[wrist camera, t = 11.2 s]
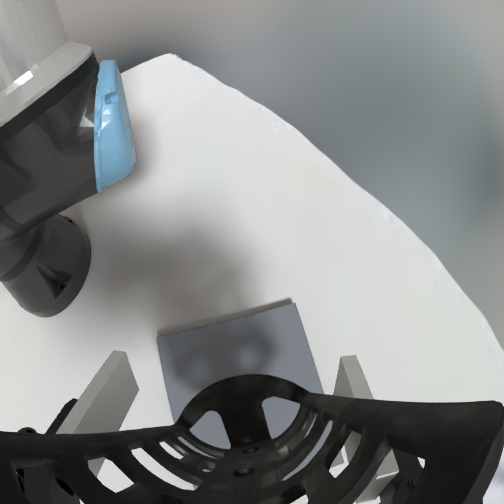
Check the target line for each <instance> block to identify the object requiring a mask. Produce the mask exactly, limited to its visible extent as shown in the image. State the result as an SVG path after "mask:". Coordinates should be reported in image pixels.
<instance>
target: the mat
mask: <svg viewBox="0 0 504 504" xmlns="http://www.w3.org/2000/svg"><path fill="white" fill-rule="evenodd" d="M156 338H157V344H158V350H159V355H160V361H161V366H162V371H163V377H164V381H165V386H166V391H167V395H168V400H169V404H170V408H171V412H172V416H173V420H174V424H175V423H176V421H177V420H178V418H179V416H180V415H181V413H182V411H183V409H184V408H185V406H186V405H187V404H188V403H189V402H190V401H191V399H192V398H193V397H195V396H196V395H197V394H198V393H199V392H200V391H202V390H203V389H204V388H206V387H208V386H210V385H211V384H213V383H215V382H217V381H220V380H223V379H225V378H228V377H233V376H238V375H245V374H265V375H272V376H276V377H279V378H283V379H286V380H289V381H291V382H294V383H295V384H297V385H299V386H301V387H303V388H304V389H306V390H307V391H309V392H311V393H319V394H324V392H323V389H322V385H321V382H320V379H319V375H318V372H317V369H316V366H315V363H314V359H313V356H312V353H311V350H310V347H309V344H308V340H307V337H306V334H305V331H304V328H303V325H302V322H301V319H300V316H299V313H298V309H297V306H296V303H292V304H289V305H286V306H282V307H278V308H275V309H271V310H268V311H264V312H260V313H256V314H253V315H249V316H245V317H241V318H237V319H233V320H229V321H225V322H221V323H217V324H213V325H209V326H204V327H200V328H196V329H191V330H187V331H182V332H178V333H173V334H168V335H163V336H159V337H156ZM262 407H263V410H264V414H265V418H266V421H267V425H268V429H269V433H270V435H271V438H272V439H273V438H276V437H278V436H279V435H280V434H282V433H283V432H284V431H285V430H286V429H287V428H288V427H289V426H290V425H291V423H292V422H293V420H294V419H295V417H296V415H297V413H298V410H299V407H300V404H299V403H296V402H293V401H289V400H286V399H282V398H278V397H271V398H268V399H265V400H264V401H263V403H262ZM316 416H317V415H316ZM315 419H316V417H315ZM315 419H314V421H315ZM314 421H313V423H312V425H311V426H310V428H309V430H308V432H307V434H306V436H307V435H308V434H309V432H310V430H311V428H312V426H313V424H314ZM332 423H333V422H332V421H331V420H330V421H329V423H328V425H327V426H326V428H325V430H324V432H323V434H322V436H321V438H320V439H319V441H318V443H317V444H316V446H315V447H314V449H313V450H312V451H311V452H310V454H309V455H308V456H307V457H306V458H305V460H304V461H303V462H302V463H301V464H300V465H299V466H298V467H297V468H296V469H295V470H294V471H292V472H291V473H290V474H288V475H287V476H286V477H284V479H283V480H286V479H288V478H289V477H291V476H292V475H294V474H295V473H297V472H298V471H300V470H301V469H302V468H304V467H305V466H306V465H307V464H308V463H309V462H310V460H311V459H312V458H313V457H314V456H315V455H316V453H317V452H318V451H319V450H320V448H321V447H322V445H323V444H324V442H325V440H326V438H327V437H328V435H329V433H330V431H331V428H332ZM189 430H190V431H191V433H192V434H193V435H194V436H196V437H197V438H198V439H200V440H201V441H203V442H205V443H207V444H210V445H212V446H215V447H218V448H223V449H230V447H231V444H230V442H229V439H228V436H227V433H226V430H225V427H224V425H223V422H222V419H221V416H220V415H219V414H218V413H217V412H215V411H208V412H206V413H205V414H204V415H203V416H202V417H201V418H200V419H199V420H198V422H197V423H196V424H195V425H194V426H193V427H192V428H191V429H189ZM306 436H305V437H306ZM178 439H179V440H180V441H181V442H183V443H184V444H185V445H186V446H188V447H189V448H191V449H192V450H194V451H196V452H198V453H200V454H203V455H205V456H208V457H211V456H209V455H207V454H205V453H203V452H201V451H200V450H198V449H196V448H195V447H193V446H192V445H191V444H189V443H188V442H187V441H185V440H184V439H183V438H181V437H178ZM212 458H214V457H212ZM216 459H217V458H216ZM342 463H344V461H343V457H342V453H341V450H340V452H339V453H338V455H337V456H336V458H335V460H334V461H333V463H332V465H331V467H334V466H337V465H340V464H342ZM331 467H330V468H331ZM202 471H206V472H209V471H210V470H206V469H204V470H202ZM283 480H282V481H283ZM193 487H194V490H196V489H197V487H198V486H196V485H194V484H193Z"/></svg>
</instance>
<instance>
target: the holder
mask: <svg viewBox="0 0 504 504" xmlns="http://www.w3.org/2000/svg"><path fill="white" fill-rule="evenodd" d="M271 397H278V398H282V399H286V400H289V401H293V402H296V403H299V404H300V407H299V410H298V413H297V415H296V417H295V419H294V420H293V422H292V423H291V425H290V426H289V427H288V428H287V429H286V430H285V431H284V432H283V433H282V434H280V435H279V436H278V437H276V438H273V439H272V438H271V435H270V433H269V429H268V425H267V421H266V418H265V414H264V410H263V407H262V403H263V401H264V400H265V399H268V398H271ZM208 411H215V412H217V413H218V414H219V415H220V416H221V419H222V422H223V425H224V427H225V430H226V433H227V436H228V439H229V442H230V444H231V447H230V449H223V448H218V447H215V446H212V445H210V444H207V443H205V442H203V441H201V440H200V439H198V438H197V437H196V436H194V435H193V434H192V433H191V431H190V430H189V429H191V428H192V427H193V426H194V425H195V424H196V423H197V422H198V420H199V419H200V418H201V417H202V416H203V415H204V414H205V413H206V412H208ZM316 415H317V416H316ZM315 417H316V419H315ZM314 419H315V421H314ZM330 420H331V421H333V423H332V428H331V431H330V433H329V435H328V437H327V438H326V440H325V442H324V444H323V445H322V447H321V448H320V450H319V451H318V452H317V453H316V455H315V456H314V457H313V458H312V459H311V460H310V462H309V463H308V464H307V465H306V466H305V467H304V468H302V469H301V470H300V471H298V472H297V473H295V474H294V475H292V476H291V477H289V478H288V479H286V480H283V479H284V477H286V476H287V475H288V474H290V473H291V472H292V471H294V470H295V469H296V468H297V467H298V466H299V465H300V464H301V463H302V462H303V461H304V460H305V458H306V457H307V456H308V455H309V454H310V452H311V451H312V450H313V449H314V447H315V446H316V444H317V443H318V441H319V439H320V438H321V436H322V434H323V432H324V430H325V428H326V426H327V425H328V423H329V421H330ZM313 421H314V424H313V426H312V428H311V430H310V432H309V434H308V435H307V436H306V434H307V432H308V430H309V428H310V426H311V425H312V423H313ZM352 431H354V432H356V433H358V434H360V435H361V440H360V444H359V446H358V448H357V450H356V452H355V454H354V456H353V458H352V459H351V461H350V463H349V465H348V466H347V467H346V468H345V469H344V470H343V471H342V472H341V473H340V474H339V475H338V476H337V478H334V477H333V476H332V475H331V473H330V472H329V469H330V467H331V465H332V463H333V461H334V460H335V458H336V456H337V455H338V453H339V452H340V450H341V449H342V447H343V445H344V444H345V442H346V440H347V439H348V437H349V435H350V433H351V432H352ZM305 436H306V437H305ZM178 437H181V438H183V439H184V440H185V441H187V442H188V443H189V444H191V445H192V446H193V447H195V448H196V449H198V450H200V451H201V452H203V453H205V454H207V455H209V456H211V457H208V456H205V455H203V454H200V453H198V452H196V451H194V450H192V449H191V448H189V447H188V446H186V445H185V444H184V443H183V442H181V441H180V440H179V439H178ZM160 442H166V443H167V444H168V445H169V446H171V447H172V448H173V449H174V450H176V451H177V452H178V453H179V454H181V455H182V456H183V458H182V459H177V458H175V457H173V456H172V455H170V454H169V453H168V452H166V451H165V449H164V448H163V447H162V446H161V445H160V444H159V443H160ZM503 447H504V407H503V405H502V403H500V402H497V401H493V400H492V401H477V402H453V403H424V402H401V401H384V400H375V399H361V398H350V397H342V396H334V395H327V394H319V393H311V392H309V391H307V390H306V389H304V388H303V387H301V386H299V385H297V384H295V383H294V382H291V381H289V380H286V379H283V378H279V377H276V376H272V375H265V374H245V375H238V376H233V377H228V378H225V379H223V380H220V381H217V382H215V383H213V384H211V385H210V386H208V387H206V388H204V389H203V390H202V391H200V392H199V393H198V394H197V395H196V396H195V397H193V398H192V399H191V401H190V402H189V403H188V404H187V405H186V406H185V408H184V409H183V411H182V413H181V415H180V416H179V418H178V420H177V421H176V423H175V424H174V425H171V426H161V427H153V428H143V429H136V430H125V431H117V432H106V433H90V434H39V433H19V432H4V431H0V504H31V503H30V502H29V501H28V499H27V498H26V496H25V495H24V493H23V492H22V490H21V488H20V485H19V481H18V477H17V474H16V470H17V469H26V468H36V467H45V466H46V467H49V468H52V469H53V470H54V471H55V472H56V473H57V474H58V475H59V476H60V477H61V478H62V479H63V480H64V481H65V482H66V483H67V484H68V486H69V487H70V488H71V489H72V490H73V492H74V493H75V494H76V495H77V496H78V498H79V499H80V500H81V501H82V502H83V503H84V504H290V503H292V502H294V501H295V500H297V499H299V498H300V497H302V496H303V495H305V494H307V497H308V504H353V503H354V502H355V500H356V499H357V498H358V497H359V496H360V495H361V494H362V492H363V491H364V490H365V489H366V488H367V486H368V485H369V483H370V482H371V480H372V479H373V477H374V475H375V474H376V472H377V470H378V469H379V467H380V465H381V464H382V462H383V460H384V458H385V457H386V456H387V455H388V453H389V452H390V451H391V450H392V449H393V448H395V449H397V450H400V451H403V452H405V453H408V454H411V455H414V456H417V457H420V458H423V459H425V466H424V468H423V471H422V473H421V476H420V478H419V480H418V482H417V484H416V486H415V487H414V489H413V491H412V492H411V494H410V495H409V497H408V498H407V500H406V501H405V503H404V504H479V503H480V502H481V500H482V498H483V496H484V495H485V493H486V491H487V489H488V487H489V485H490V483H491V480H492V478H493V476H494V474H495V472H496V469H497V467H498V465H499V461H500V458H501V454H502V450H503ZM137 448H142V449H143V450H144V451H145V452H146V453H148V454H149V455H150V456H151V457H152V458H153V459H155V460H156V461H157V462H158V463H159V464H160V465H162V466H163V467H164V468H166V469H167V470H168V471H170V472H171V473H173V474H174V475H176V476H177V477H179V478H181V479H182V480H184V481H187V482H189V483H191V484H194V485H196V486H198V487H197V489H196V490H195V491H194V490H184V489H180V488H178V487H176V486H174V485H171V484H169V483H167V482H165V481H163V480H162V479H160V478H159V477H157V476H156V475H154V474H153V473H151V472H150V471H149V470H148V469H147V468H145V467H144V466H143V465H142V464H141V463H140V462H139V461H138V460H137V459H136V458H135V457H134V456H133V454H132V452H131V450H133V449H137ZM102 457H104V458H106V459H108V460H110V461H112V462H113V463H114V464H115V465H116V466H117V467H118V468H119V469H120V470H121V471H122V472H123V473H124V474H125V475H126V476H127V477H128V478H129V479H130V480H131V481H132V482H134V484H133V485H131V486H130V487H128V488H126V489H124V490H122V491H120V492H117V493H115V492H113V491H112V490H110V489H108V488H107V487H105V486H104V485H103V484H102V483H101V482H100V481H99V480H98V479H97V477H96V476H95V475H94V474H93V473H92V471H91V470H90V469H89V465H88V461H89V460H93V459H98V458H102ZM212 457H214V458H212ZM216 458H217V459H216ZM204 469H206V470H210V471H209V472H206V471H202V470H204ZM282 480H283V481H282Z"/></svg>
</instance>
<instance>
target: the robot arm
mask: <svg viewBox="0 0 504 504" xmlns="http://www.w3.org/2000/svg"><path fill="white" fill-rule="evenodd" d="M135 163H136V152H135V145H134V139H133V133H132V128H131V123H130V117H129V112H128V107H127V102H126V97H125V93H124V88H123V83H122V79H121V75H120V72H119V69H118V64H117V62H116V61H115V60H103V61H101V63H100V64H99V63H98V62H97V61H96V58H95V55H94V53H93V50H92V48H91V47H90V46H87V45H83V44H79V43H75V42H72V41H71V40H70V39H69V38H68V36H67V33H66V31H65V28H64V25H63V22H62V20H61V17H60V14H59V11H58V8H57V5H56V2H55V0H0V281H1V282H2V283H3V285H4V286H5V287H6V288H7V290H8V291H9V292H10V293H11V295H12V296H13V297H14V298H15V299H16V300H17V302H18V303H19V305H20V306H21V307H22V308H24V309H25V310H26V311H28V312H30V313H32V314H34V315H36V316H39V317H51V316H54V315H56V314H58V313H60V312H61V311H63V310H64V309H65V308H66V307H67V306H68V305H69V304H70V303H71V302H72V301H73V300H74V299H75V297H76V296H77V294H78V293H79V291H80V289H81V287H82V285H83V283H84V281H85V279H86V276H87V273H88V269H89V264H90V256H91V250H90V243H89V239H88V237H87V235H86V233H85V232H84V231H83V229H82V228H81V227H80V226H79V225H78V224H77V223H76V222H75V221H73V220H72V219H70V218H68V217H65V216H62V215H60V214H58V213H59V212H61V211H63V210H65V209H67V208H69V207H70V206H72V205H74V204H76V203H78V202H80V201H82V200H84V199H86V198H88V197H90V196H92V195H94V194H96V193H98V194H100V193H102V192H103V190H104V189H105V188H107V187H109V186H111V185H113V184H115V183H117V182H118V181H120V180H122V179H124V178H126V177H127V176H129V175H130V174H131V172H132V171H133V169H134V166H135ZM138 391H139V388H138V386H137V383H136V380H135V378H134V375H133V372H132V369H131V367H130V364H129V361H128V358H127V355H126V352H121V351H114V350H113V352H112V353H111V354H110V356H109V357H108V359H107V360H106V361H105V363H104V364H103V365H102V367H101V368H100V370H99V371H98V372H97V374H96V375H95V377H94V378H93V379H92V381H91V382H90V384H89V385H88V386H87V388H86V389H85V391H84V392H83V394H82V395H81V396H80V398H79V399H78V400H77V399H74V398H73V399H72V400H70V401H69V402H68V403H66V404H65V405H64V407H63V408H62V410H61V412H60V413H59V414H58V415H57V418H55V420H54V421H53V423H52V424H51V426H50V427H49V429H48V430H47V432H46V433H45V434H90V433H106V432H117V431H119V429H120V427H121V425H122V423H123V421H124V419H125V416H126V414H127V412H128V410H129V409H130V407H131V405H132V403H133V401H134V399H135V397H136V395H137V393H138ZM333 395H334V396H342V397H350V398H361V399H373V396H372V394H371V391H370V389H369V386H368V383H367V381H366V379H365V376H364V374H363V371H362V369H361V366H360V364H359V361H358V359H357V357H356V355H353V356H342V357H341V358H340V363H339V369H338V374H337V379H336V384H335V389H334V394H333ZM18 432H19V433H37V432H36V431H35V430H34V429H33V428H29V427H26V428H22V429H20V430H19V431H18ZM360 440H361V435H360V434H358V433H356V432H354V431H352V432H351V433H350V435H349V437H348V439H347V440H346V442H345V444H344V445H345V449H346V454H347V459H348V463H350V461H351V459H352V458H353V456H354V454H355V452H356V450H357V448H358V446H359V444H360ZM104 460H105V458H104V457H102V458H98V459H93V460H89V461H88V465H89V469H90V470H91V471H92V473H93V474H94V475H95V476H96V477H97V475H98V473H99V471H100V468H101V466H102V464H103V462H104ZM422 471H423V468H422V466H421V465H420V463H419V460H418V457H417V456H414V455H411V454H408V453H405V452H403V451H400V450H397V449H395V448H393V449H392V450H391V451H390V452H389V453H388V455H387V456H386V457H385V458H384V460H383V462H382V464H381V465H380V467H379V469H378V470H377V472H376V474H375V475H374V477H373V479H372V480H371V482H370V483H369V485H368V486H367V488H366V489H365V490H364V491H363V492H362V494H361V495H360V496H359V497H358V498H357V499H356V504H358V503H363V502H367V501H372V500H375V499H376V498H377V497H378V496H379V495H380V500H381V502H380V503H379V504H404V503H405V501H406V500H407V498H408V497H409V495H410V494H411V492H412V491H413V489H414V487H415V486H416V484H417V482H418V480H419V478H420V476H421V473H422ZM16 472H17V477H18V481H19V485H20V488H21V490H22V492H23V493H24V495H25V496H26V498H27V499H28V501H29V502H30V503H31V504H80V500H79V498H78V496H77V495H76V494H75V493H74V492H73V490H72V489H71V488H70V487H69V486H68V484H67V483H66V482H65V481H64V480H63V479H62V478H61V477H60V476H59V475H58V474H57V473H56V472H55V471H54V470H53V469H52V468H49V467H46V466H45V467H36V468H26V469H17V470H16ZM479 504H483V498H482V500H481V502H480V503H479Z"/></svg>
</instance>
